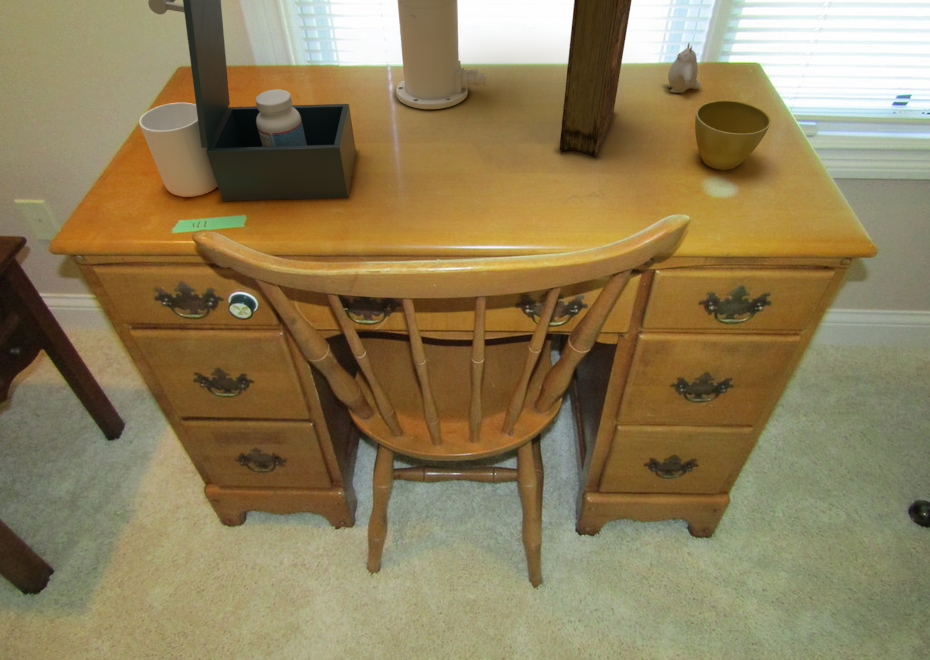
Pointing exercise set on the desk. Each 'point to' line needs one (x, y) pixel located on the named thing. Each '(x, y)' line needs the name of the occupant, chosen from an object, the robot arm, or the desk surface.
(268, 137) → the pill bottle
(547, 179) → the desk surface
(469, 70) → the robot arm
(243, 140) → the chest
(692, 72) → the figurine
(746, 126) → the flower pot
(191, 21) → the lid
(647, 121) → the desk surface
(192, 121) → the mug
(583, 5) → the book
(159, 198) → the desk surface
